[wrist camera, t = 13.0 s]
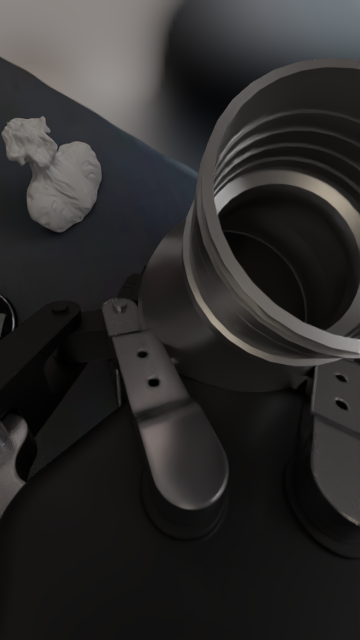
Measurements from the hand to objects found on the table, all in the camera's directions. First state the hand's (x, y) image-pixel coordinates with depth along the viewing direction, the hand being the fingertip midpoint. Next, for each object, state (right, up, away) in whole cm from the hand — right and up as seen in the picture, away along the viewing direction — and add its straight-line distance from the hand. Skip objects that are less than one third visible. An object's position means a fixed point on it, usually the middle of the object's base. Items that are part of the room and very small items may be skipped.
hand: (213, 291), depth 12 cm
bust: (-17, +15, +21) cm, 31 cm away
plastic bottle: (-1, -3, +10) cm, 11 cm away
